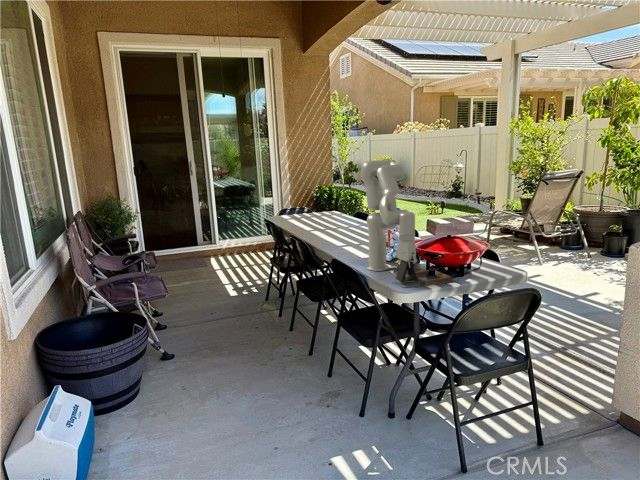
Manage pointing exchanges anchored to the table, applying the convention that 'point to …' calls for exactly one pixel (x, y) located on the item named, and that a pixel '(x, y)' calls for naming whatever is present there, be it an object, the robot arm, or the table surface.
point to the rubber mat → (406, 284)
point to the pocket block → (441, 280)
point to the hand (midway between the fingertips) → (406, 272)
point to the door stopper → (402, 273)
